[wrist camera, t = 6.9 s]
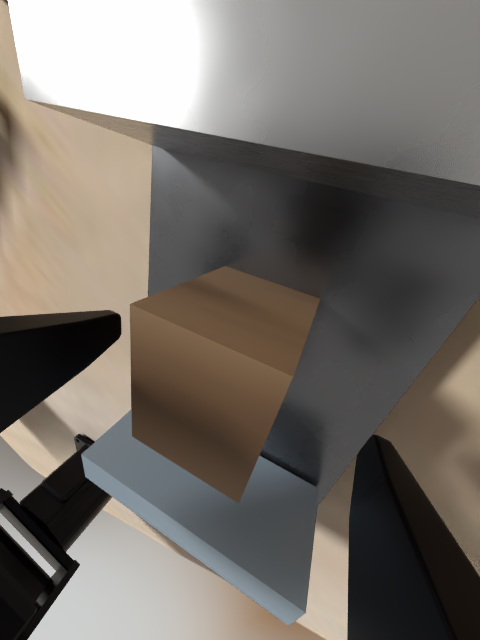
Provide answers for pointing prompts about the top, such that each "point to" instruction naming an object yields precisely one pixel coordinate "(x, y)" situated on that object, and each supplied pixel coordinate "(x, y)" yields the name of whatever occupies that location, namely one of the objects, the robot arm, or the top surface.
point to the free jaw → (218, 517)
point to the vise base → (339, 267)
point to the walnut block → (215, 370)
